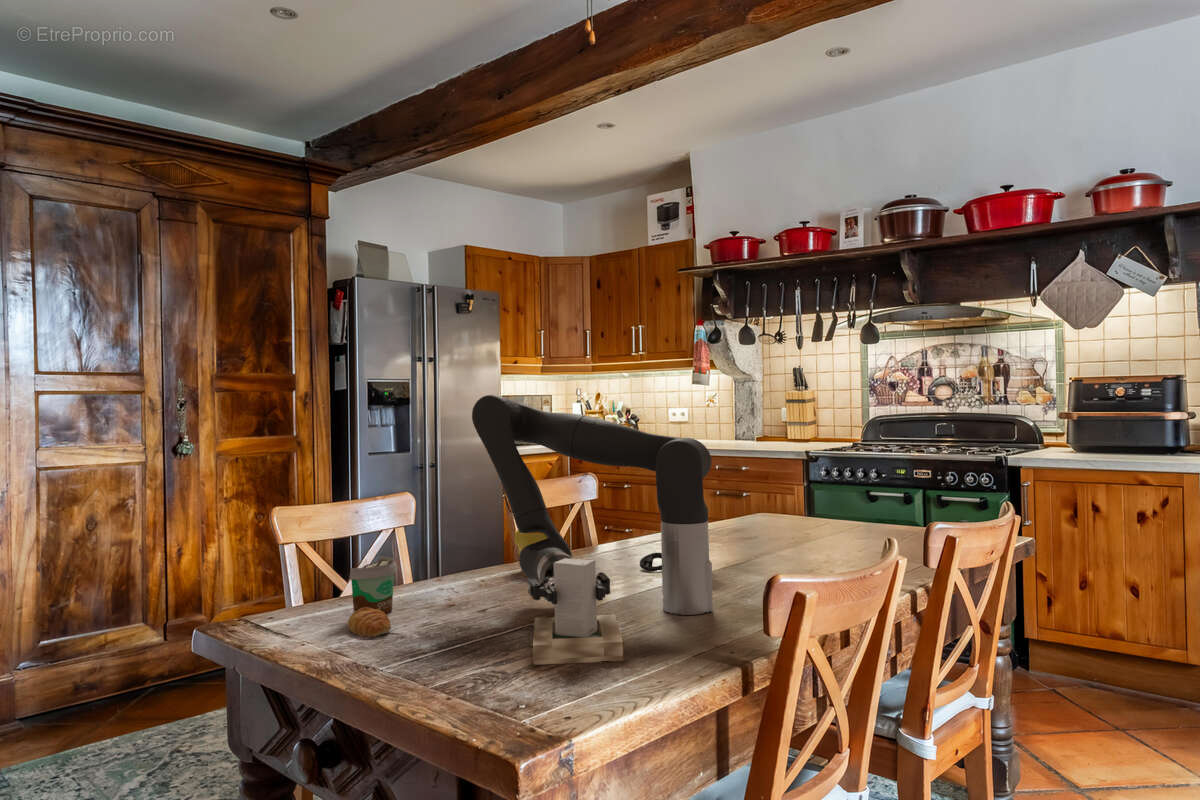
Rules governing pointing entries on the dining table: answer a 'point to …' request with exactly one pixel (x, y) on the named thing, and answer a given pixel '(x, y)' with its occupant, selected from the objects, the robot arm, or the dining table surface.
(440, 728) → the dining table surface
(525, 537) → the plant pot
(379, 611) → the pastry
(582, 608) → the skincare box
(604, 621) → the holder
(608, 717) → the dining table surface
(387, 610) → the food container
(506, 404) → the robot arm
